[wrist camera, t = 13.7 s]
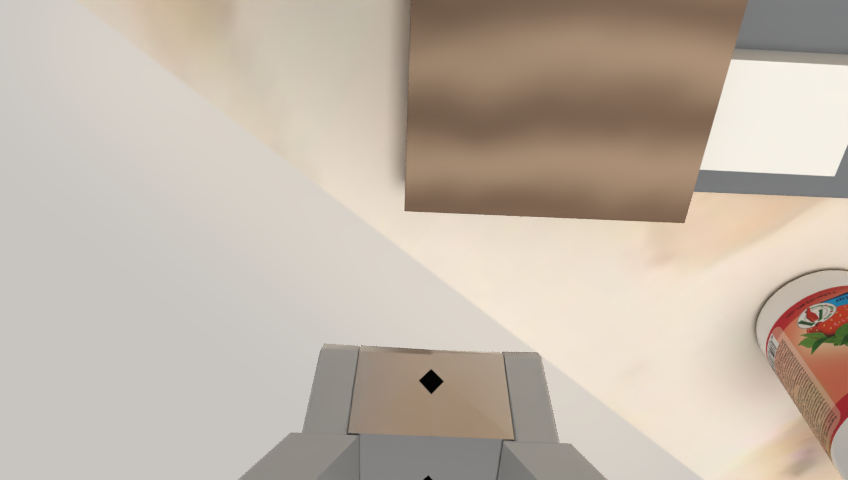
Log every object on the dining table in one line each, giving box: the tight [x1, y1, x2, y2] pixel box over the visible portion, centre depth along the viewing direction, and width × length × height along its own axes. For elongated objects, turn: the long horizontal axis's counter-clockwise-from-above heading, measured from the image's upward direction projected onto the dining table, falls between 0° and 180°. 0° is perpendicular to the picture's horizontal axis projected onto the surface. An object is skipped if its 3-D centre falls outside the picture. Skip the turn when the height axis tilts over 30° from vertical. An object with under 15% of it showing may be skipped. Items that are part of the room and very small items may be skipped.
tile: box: [700, 48, 848, 176], centre depth 41 cm, size 7×9×2 cm
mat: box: [693, 0, 848, 198], centre depth 42 cm, size 13×16×1 cm
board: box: [405, 0, 748, 223], centre depth 41 cm, size 14×18×4 cm
